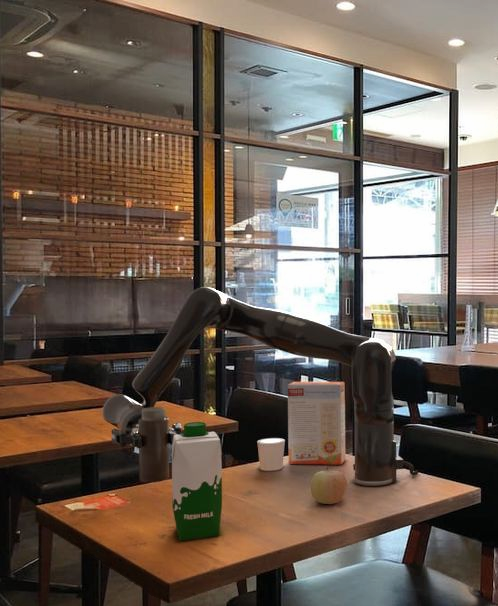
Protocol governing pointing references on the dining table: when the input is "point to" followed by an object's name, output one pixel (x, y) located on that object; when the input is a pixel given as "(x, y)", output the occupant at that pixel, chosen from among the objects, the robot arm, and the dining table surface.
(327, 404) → the cracker box
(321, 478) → the fruit
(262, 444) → the white cup
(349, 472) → the dining table surface
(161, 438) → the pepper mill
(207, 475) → the milk carton
